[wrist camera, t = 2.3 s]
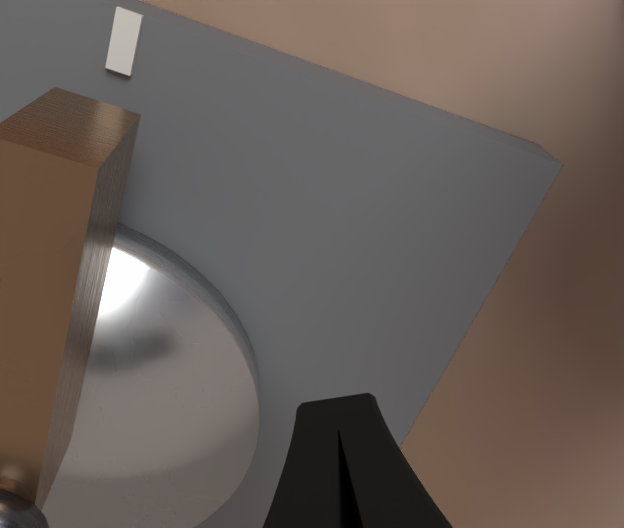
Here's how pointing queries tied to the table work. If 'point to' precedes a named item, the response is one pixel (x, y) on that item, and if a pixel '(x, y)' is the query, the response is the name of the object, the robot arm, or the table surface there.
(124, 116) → the dial
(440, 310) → the dial panel
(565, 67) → the table surface
